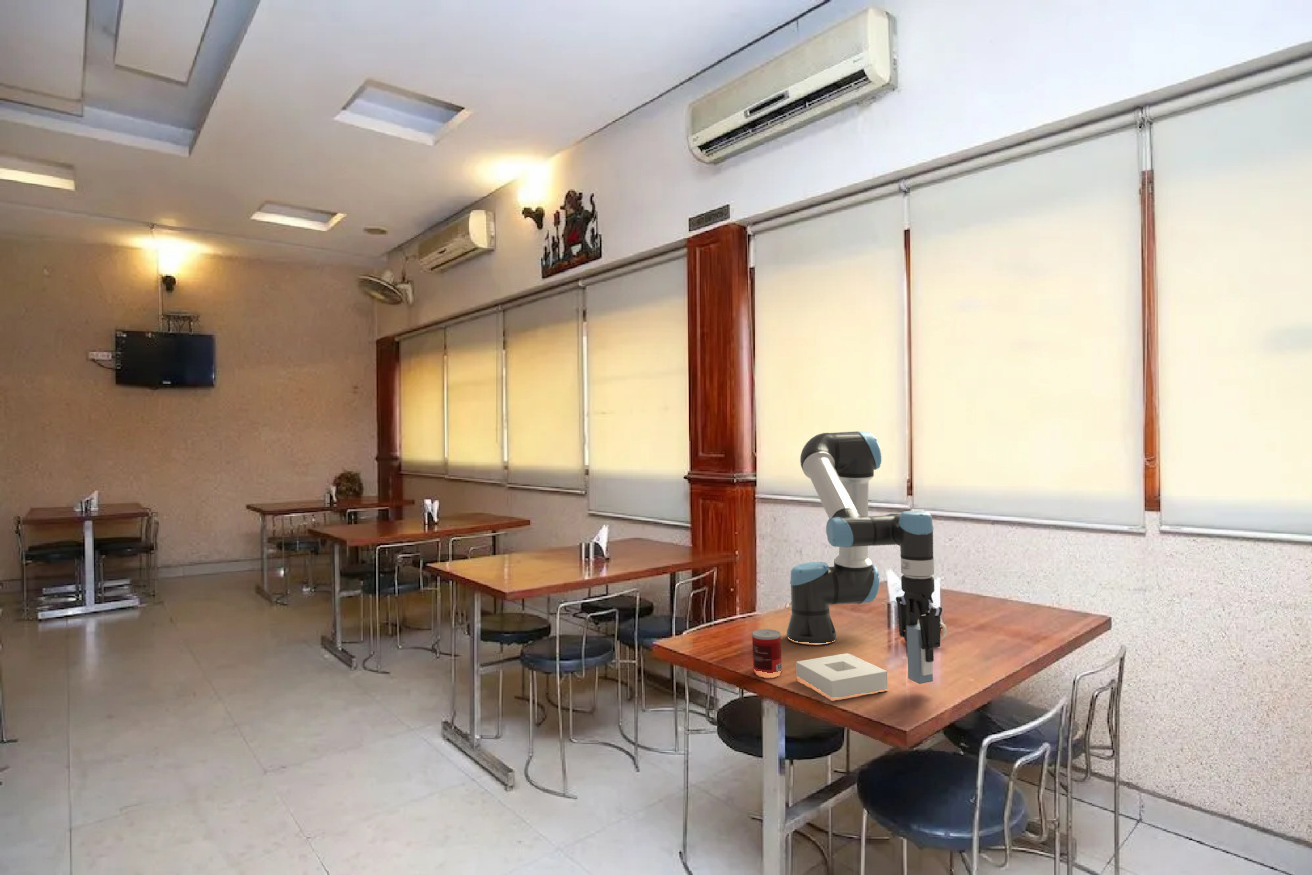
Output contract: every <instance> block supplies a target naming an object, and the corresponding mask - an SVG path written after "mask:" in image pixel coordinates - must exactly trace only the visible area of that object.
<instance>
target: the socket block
mask: <svg viewBox="0 0 1312 875" xmlns="http://www.w3.org/2000/svg"><path fill="white" fill-rule="evenodd" d="M795 670H796V676H798V677H800V678H801V679H803V680H805V681H806V682H808V683H809V684H812V685H813V686H814V687H816V688H817V689H820V690H821V691H822V692H824V693H826V694H827V695H829V696H830V697H844V696H850V695H854V694H861V693H870V692H875V691H879V690H885V689H889V687H888V685H889V684H888V671H887V670H885V669H883V668H880V667H879V666H877V665H874V664H873V663H870V662H868V661H866V660H864V659H861V658H859V657H857V656H855V655H853V654H851V653H847V652H846V653H841V654H840V653H839V654H834V655H829V656H821V657H816V658H809V659H805V660H797V661H795ZM796 676H795V677H796Z"/></svg>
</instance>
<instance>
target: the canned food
mask: <svg viewBox="0 0 1312 875" xmlns="http://www.w3.org/2000/svg"><path fill="white" fill-rule="evenodd" d="M751 639H752V640H751V641H752V642H751V643H752V666H753V668H754V669H755V670H756V671H762V672H767V673H773V672H778V671H781V670H782V671H783V665H782V664H783V660H782V635H781V632H780V631H778V630H776V629H769V628H762V629H756V630H754V631H753V632H752V636H751Z"/></svg>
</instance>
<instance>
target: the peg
mask: <svg viewBox="0 0 1312 875" xmlns="http://www.w3.org/2000/svg"><path fill="white" fill-rule="evenodd" d="M928 643H929V642H928ZM922 646H923V641H922V635H921V629H920V624H915V625H908V626H907V652H906V655H907V656H906V658H907V679H908V680H910V681H913V682H915V683H916V684H919V685H923V684H928V683H932V682H933V681H934V674H930V675H925V676H923V675H922V672H921V647H922Z"/></svg>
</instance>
